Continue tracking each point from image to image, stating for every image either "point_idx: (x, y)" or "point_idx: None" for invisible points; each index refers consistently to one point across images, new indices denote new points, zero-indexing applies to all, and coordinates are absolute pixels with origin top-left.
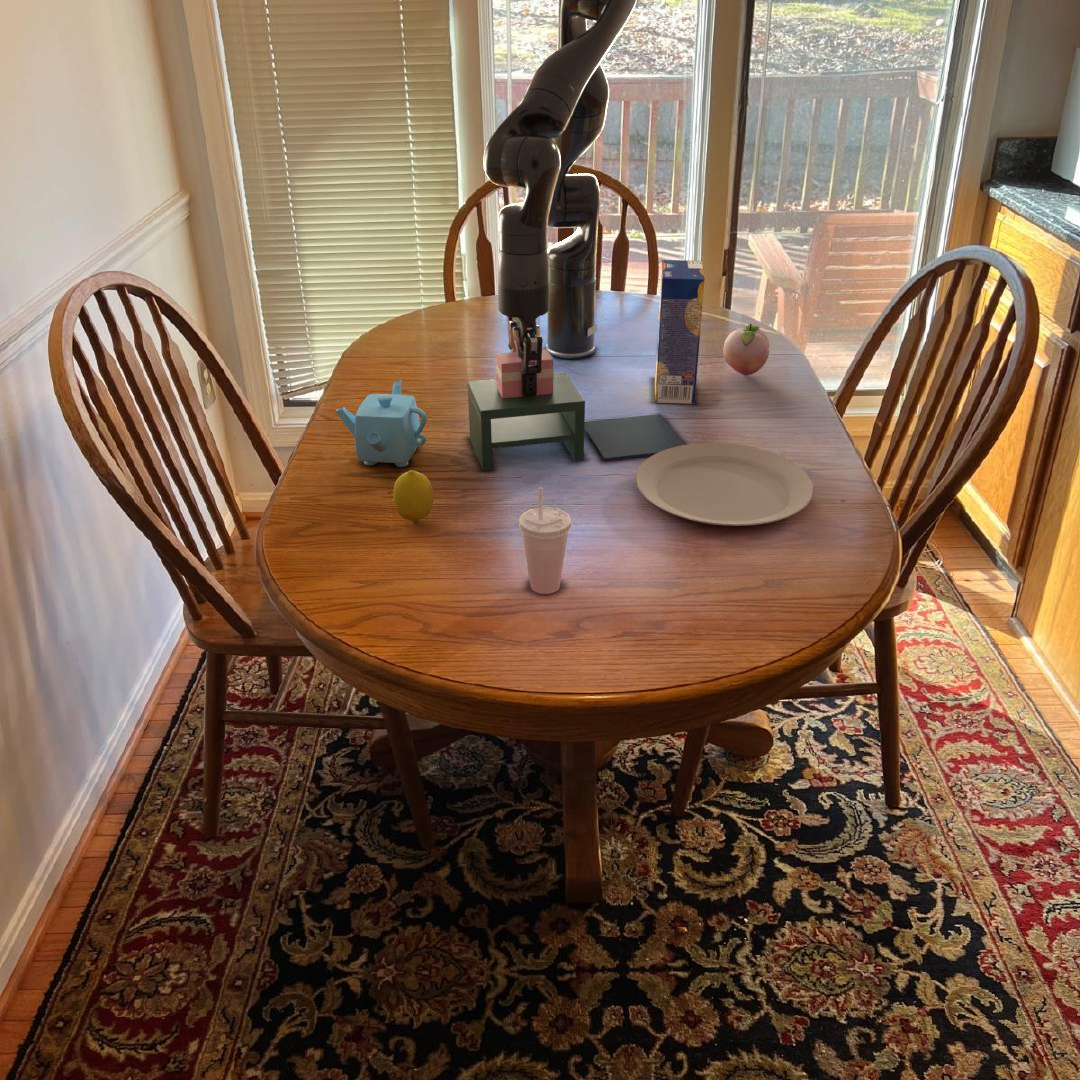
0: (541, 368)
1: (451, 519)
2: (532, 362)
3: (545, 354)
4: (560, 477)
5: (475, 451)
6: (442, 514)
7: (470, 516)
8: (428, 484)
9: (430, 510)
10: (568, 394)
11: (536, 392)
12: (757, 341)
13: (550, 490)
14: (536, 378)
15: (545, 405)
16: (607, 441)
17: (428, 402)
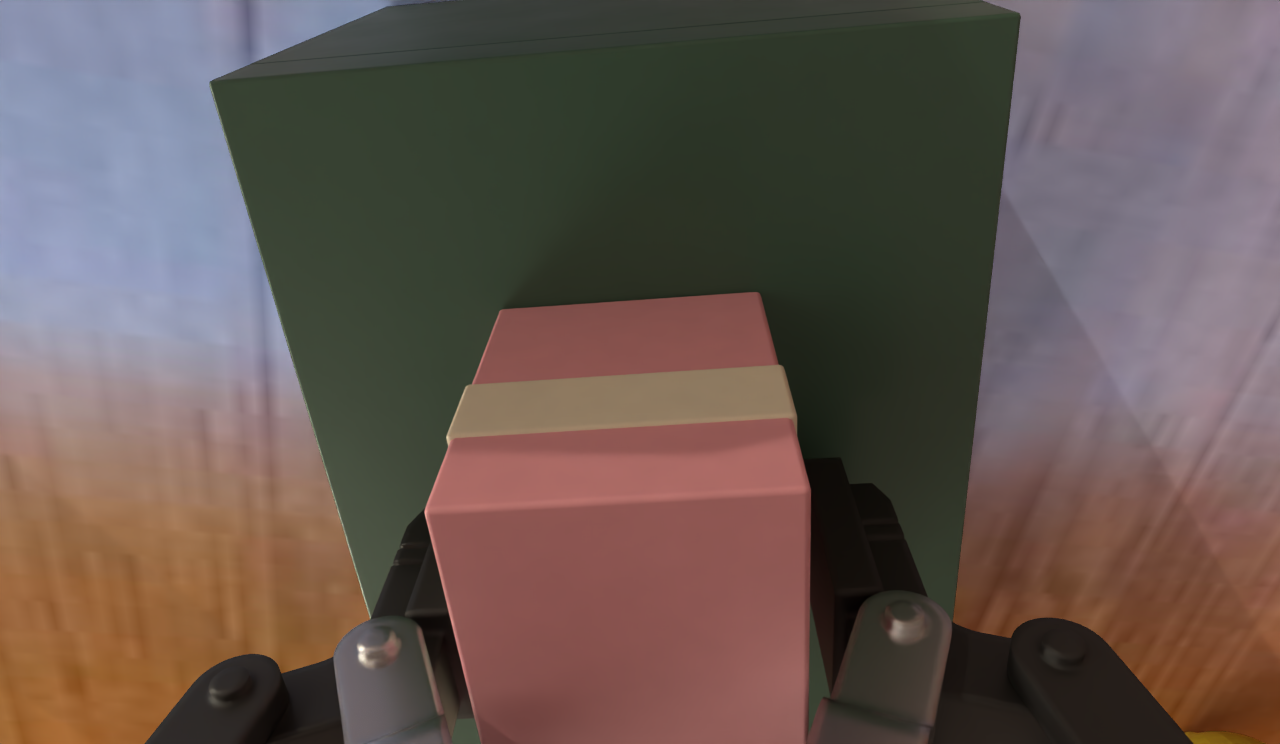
0: (1085, 650)
1: (1229, 636)
2: (807, 682)
3: (620, 551)
4: (1042, 151)
5: None
6: (1173, 659)
7: (1241, 577)
8: None
9: (1260, 741)
10: (812, 156)
11: (840, 466)
12: None
13: (1167, 229)
14: (870, 552)
15: (976, 384)
16: None
17: (70, 643)
